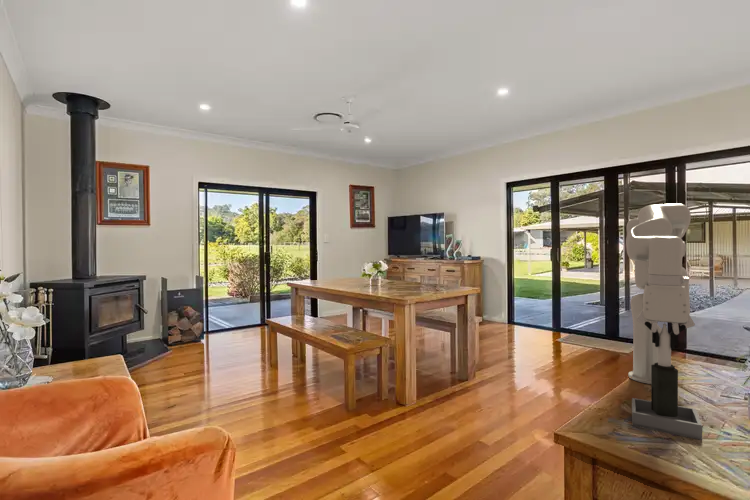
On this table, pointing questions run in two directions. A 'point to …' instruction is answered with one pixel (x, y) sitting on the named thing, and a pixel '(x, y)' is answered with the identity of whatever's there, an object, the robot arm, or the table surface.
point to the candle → (664, 379)
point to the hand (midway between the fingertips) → (664, 346)
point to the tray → (667, 420)
